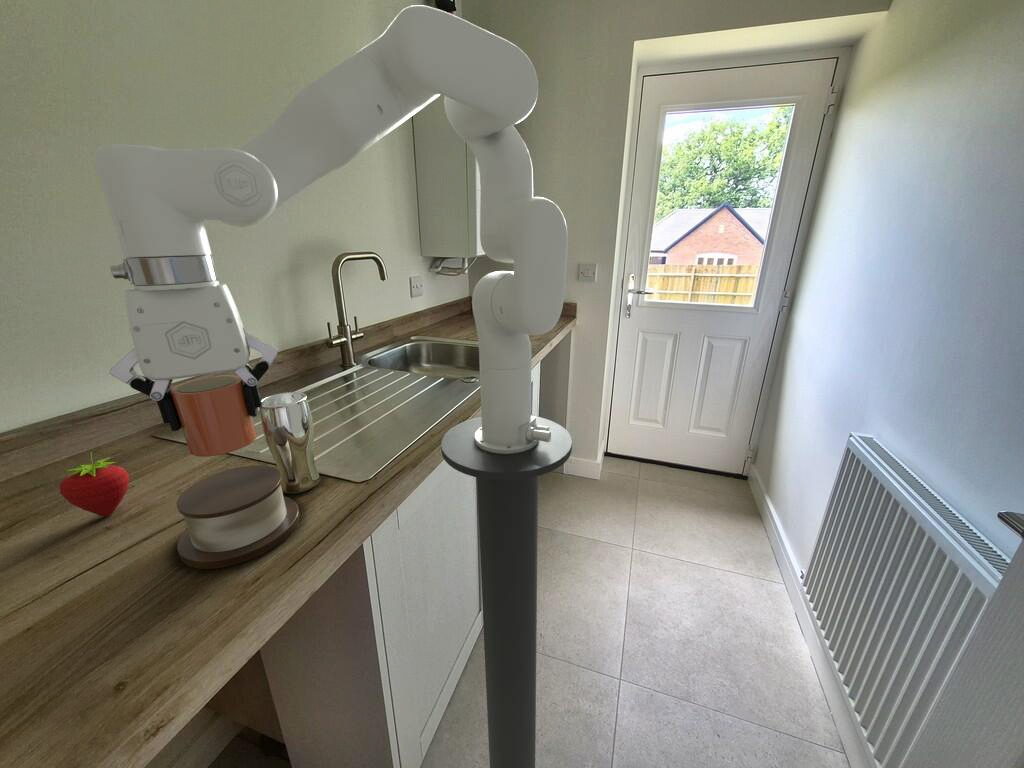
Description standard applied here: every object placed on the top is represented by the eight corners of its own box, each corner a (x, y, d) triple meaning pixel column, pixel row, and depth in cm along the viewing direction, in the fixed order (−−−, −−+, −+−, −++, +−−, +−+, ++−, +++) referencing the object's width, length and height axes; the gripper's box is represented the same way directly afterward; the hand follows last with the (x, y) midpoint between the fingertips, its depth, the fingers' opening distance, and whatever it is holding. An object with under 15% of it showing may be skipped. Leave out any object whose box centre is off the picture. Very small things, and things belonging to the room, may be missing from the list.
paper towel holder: (321, 515, 59) (313, 473, 57) (222, 584, 47) (207, 534, 45) (258, 492, 65) (249, 453, 63) (156, 549, 53) (139, 503, 51)
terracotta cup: (269, 436, 54) (255, 378, 51) (212, 461, 48) (192, 397, 45) (235, 427, 57) (219, 372, 54) (177, 450, 51) (156, 389, 48)
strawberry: (92, 506, 62) (69, 447, 59) (149, 500, 64) (129, 442, 60) (60, 531, 57) (33, 468, 53) (124, 524, 58) (100, 461, 55)
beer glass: (295, 471, 71) (278, 390, 66) (331, 474, 70) (317, 392, 65) (266, 494, 65) (245, 406, 60) (305, 497, 64) (287, 408, 59)
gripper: (52, 281, 38) (117, 449, 44) (264, 271, 46) (295, 415, 52) (85, 277, 45) (138, 424, 51) (266, 268, 52) (294, 397, 58)
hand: (217, 418), depth 51 cm, fingers closed on terracotta cup, 7 cm apart
